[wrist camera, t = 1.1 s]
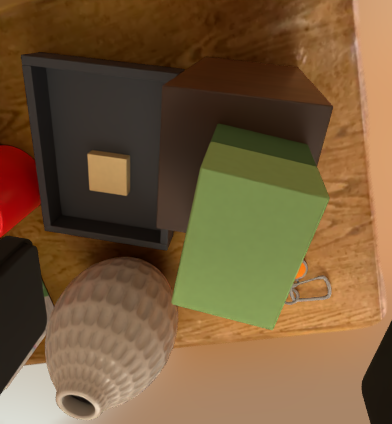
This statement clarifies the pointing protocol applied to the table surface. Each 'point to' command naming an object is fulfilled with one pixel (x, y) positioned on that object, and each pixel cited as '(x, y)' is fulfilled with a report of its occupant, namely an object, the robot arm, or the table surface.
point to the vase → (109, 335)
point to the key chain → (301, 274)
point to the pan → (96, 143)
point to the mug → (16, 187)
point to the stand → (229, 121)
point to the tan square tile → (109, 172)
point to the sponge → (249, 226)
